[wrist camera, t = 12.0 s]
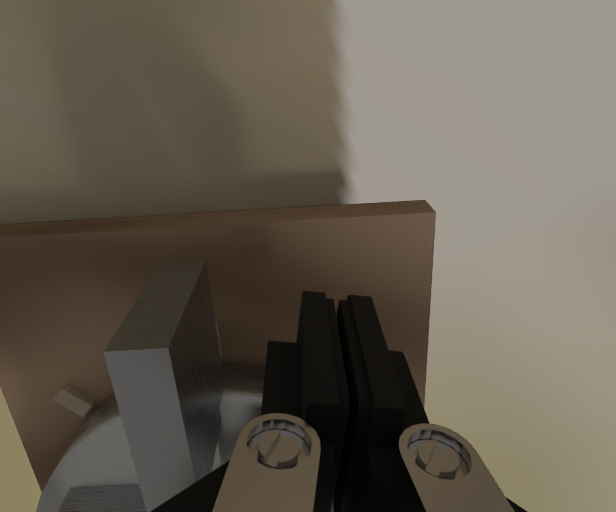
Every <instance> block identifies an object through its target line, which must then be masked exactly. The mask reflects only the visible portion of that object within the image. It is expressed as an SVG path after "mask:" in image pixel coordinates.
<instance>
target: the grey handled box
mask: <svg viewBox="0 0 616 512" xmlns="http://www.w3.org/2000/svg"><path fill="white" fill-rule="evenodd" d="M103 353H104V356H105V360H106V364H107V367H108V371H109V375H110V378H111V382H112V386H113V389H114V394H113V395H112V396H110V397H109V398H107V399H106V400H104V401H103V402H102V403H101V404H100V405H99V406H98V407H97V408H96V409H95V410H93V411H92V412H91V413H90V414H89V415H88V417H87V418H86V419H85V421H84V422H83V423H82V424H81V426H80V427H79V428H78V430H77V432H76V433H75V435H74V437H73V439H72V440H71V442H70V444H69V446H68V447H67V449H66V451H65V453H64V454H63V456H62V458H61V460H60V461H59V463H58V465H57V467H56V468H55V470H54V472H53V473H52V475H51V477H50V479H49V481H48V483H47V484H46V486H45V488H44V490H43V492H42V494H41V497H40V500H39V504H38V507H37V511H36V512H150V511H152V510H154V509H155V508H157V507H158V506H160V505H161V504H163V503H164V502H166V501H167V500H169V499H170V498H172V497H173V496H175V495H177V494H178V493H180V492H181V491H183V490H184V489H186V488H187V487H189V486H190V485H192V484H193V483H195V482H197V481H198V480H200V479H201V478H203V477H204V476H206V475H207V474H209V473H210V472H212V471H213V470H215V469H216V468H218V467H220V466H221V465H223V464H224V463H226V462H227V461H229V460H230V459H231V456H232V454H233V451H234V448H235V445H236V442H237V439H238V436H239V434H240V432H241V431H242V429H243V427H244V426H245V425H246V424H248V423H249V422H250V421H251V420H252V419H255V418H257V417H259V416H261V407H262V396H263V385H264V375H265V367H263V366H258V365H248V364H238V363H221V356H220V350H219V343H218V337H217V330H216V324H215V317H214V311H213V304H212V297H211V291H210V284H209V278H208V271H207V265H206V260H195V261H178V262H161V263H160V264H159V265H158V267H157V268H156V270H155V271H154V273H153V275H152V276H151V278H150V279H149V281H148V282H147V284H146V286H145V287H144V289H143V290H142V292H141V293H140V295H139V297H138V298H137V300H136V301H135V303H134V304H133V306H132V307H131V309H130V311H129V312H128V314H127V315H126V317H125V318H124V320H123V322H122V323H121V325H120V326H119V328H118V329H117V331H116V333H115V334H114V336H113V337H112V339H111V340H110V342H109V344H108V345H107V347H106V348H105V350H104V351H103ZM331 512H334V510H333V502H332V507H331Z"/></svg>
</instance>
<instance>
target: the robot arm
mask: <svg viewBox="0 0 616 512" xmlns="http://www.w3.org/2000/svg"><path fill="white" fill-rule="evenodd" d="M332 502H333V510H334V512H527V511H525V510H524V509H523V508H521V507H520V506H518V505H517V504H515V503H514V502H512V501H511V500H509V499H508V498H506V497H505V496H504V494H503V493H502V491H501V489H500V488H499V486H498V485H497V483H496V482H495V480H494V478H493V477H492V475H491V474H490V472H489V471H488V469H487V467H486V466H485V464H484V463H483V461H482V459H481V458H480V456H479V455H478V453H477V452H476V450H475V449H474V448H473V447H472V445H471V444H470V443H469V442H468V441H467V440H466V439H464V438H463V437H462V436H461V435H459V434H458V433H456V432H454V431H452V430H450V429H448V428H446V427H442V426H439V425H435V424H429V421H428V419H427V416H426V413H425V410H424V407H423V405H422V402H421V399H420V396H419V394H418V391H417V388H416V385H415V383H414V380H413V377H412V374H411V372H410V369H409V366H408V363H407V361H406V358H405V356H404V354H403V352H401V351H393V350H388V347H387V344H386V341H385V338H384V335H383V332H382V328H381V325H380V322H379V319H378V316H377V313H376V309H375V306H374V303H373V300H372V297H370V296H359V295H348V297H347V300H339V303H338V309H337V315H336V311H335V305H334V300H333V299H327V298H326V294H325V292H314V291H303V292H302V299H301V307H300V315H299V323H298V331H297V339H296V343H294V342H281V341H269V340H268V343H267V354H266V364H265V375H264V385H263V396H262V407H261V416H259V417H257V418H255V419H252V420H251V421H250V422H249V423H248V424H246V425H245V426H244V427H243V429H242V431H241V432H240V434H239V436H238V439H237V442H236V445H235V448H234V451H233V454H232V456H231V459H230V460H229V461H227V462H226V463H224V464H223V465H221V466H220V467H218V468H216V469H215V470H213V471H212V472H210V473H209V474H207V475H206V476H204V477H203V478H201V479H200V480H198V481H197V482H195V483H193V484H192V485H190V486H189V487H187V488H186V489H184V490H183V491H181V492H180V493H178V494H177V495H175V496H173V497H172V498H170V499H169V500H167V501H166V502H164V503H163V504H161V505H160V506H158V507H157V508H155V509H154V510H152V511H150V512H331V507H332Z"/></svg>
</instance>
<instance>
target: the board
mask: <svg viewBox="0 0 616 512" xmlns="http://www.w3.org/2000/svg"><path fill="white" fill-rule="evenodd" d="M435 217H436V212H435V211H434V210H433V209H432V207H431V206H430V205H429V204H428V203H427V202H426V201H425V200H418V201H417V200H416V201H399V202H382V203H366V204H365V203H364V204H347V205H330V206H313V207H295V208H278V209H261V210H244V211H226V212H209V213H192V214H175V215H157V216H140V217H123V218H106V219H88V220H71V221H54V222H37V223H19V224H2V225H0V387H1V389H2V392H3V394H4V397H5V399H6V402H7V404H8V407H9V409H10V412H11V415H12V417H13V420H14V422H15V425H16V427H17V430H18V433H19V435H20V438H21V440H22V442H23V445H24V448H25V450H26V453H27V456H28V458H29V461H30V463H31V466H32V468H33V471H34V473H35V476H36V479H37V481H38V484H39V486H40V489H41V491H42V492H43V490H44V488H45V486H46V484H47V483H48V481H49V479H50V477H51V475H52V473H53V472H54V470H55V468H56V467H57V465H58V463H59V461H60V460H61V458H62V456H63V454H64V453H65V451H66V449H67V447H68V446H69V444H70V442H71V440H72V439H73V437H74V435H75V433H76V432H77V430H78V428H79V427H80V426H81V424H82V423H83V422H84V421H85V419H86V418H87V417H88V415H89V414H90V413H91V412H92V411H93V410H95V409H96V408H97V407H98V406H99V405H100V404H101V403H102V402H103V401H104V400H106V399H107V398H109V397H110V396H112V395H113V394H114V389H113V386H112V382H111V378H110V375H109V371H108V367H107V364H106V360H105V356H104V353H103V351H104V350H105V348H106V347H107V345H108V344H109V342H110V340H111V339H112V337H113V336H114V334H115V333H116V331H117V329H118V328H119V326H120V325H121V323H122V322H123V320H124V318H125V317H126V315H127V314H128V312H129V311H130V309H131V307H132V306H133V304H134V303H135V301H136V300H137V298H138V297H139V295H140V293H141V292H142V290H143V289H144V287H145V286H146V284H147V282H148V281H149V279H150V278H151V276H152V275H153V273H154V271H155V270H156V268H157V267H158V265H159V264H160V263H161V262H178V261H195V260H206V265H207V271H208V278H209V284H210V291H211V297H212V304H213V311H214V317H215V324H216V330H217V337H218V343H219V350H220V356H221V363H238V364H248V365H258V366H263V367H265V364H266V354H267V343H268V340H269V341H281V342H294V343H296V339H297V331H298V323H299V315H300V307H301V299H302V292H303V291H314V292H325V294H326V298H327V299H333V300H334V305H335V311H336V315H337V309H338V303H339V300H347V297H348V295H359V296H370V297H372V300H373V303H374V306H375V309H376V313H377V316H378V319H379V322H380V325H381V328H382V332H383V335H384V338H385V341H386V344H387V347H388V350H393V351H401V352H403V354H404V356H405V358H406V361H407V363H408V366H409V369H410V372H411V374H412V377H413V380H414V383H415V385H416V388H417V391H418V394H419V396H420V399H421V402H422V405H423V407H424V399H425V382H426V366H427V350H428V334H429V317H430V299H431V284H432V267H433V251H434V234H435Z"/></svg>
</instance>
